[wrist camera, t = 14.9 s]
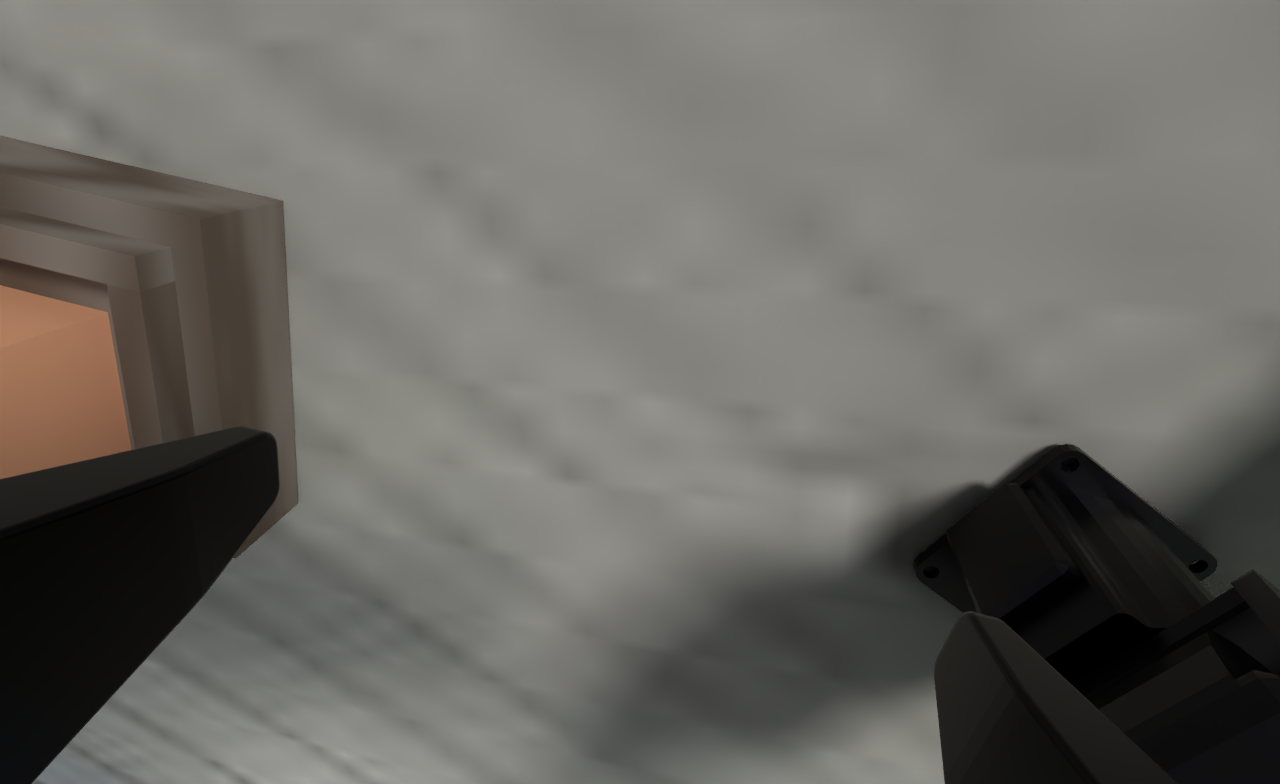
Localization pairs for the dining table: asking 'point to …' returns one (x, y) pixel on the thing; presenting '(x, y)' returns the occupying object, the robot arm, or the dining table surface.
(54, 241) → the base block
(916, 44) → the dining table surface
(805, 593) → the dining table surface
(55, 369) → the terracotta column
